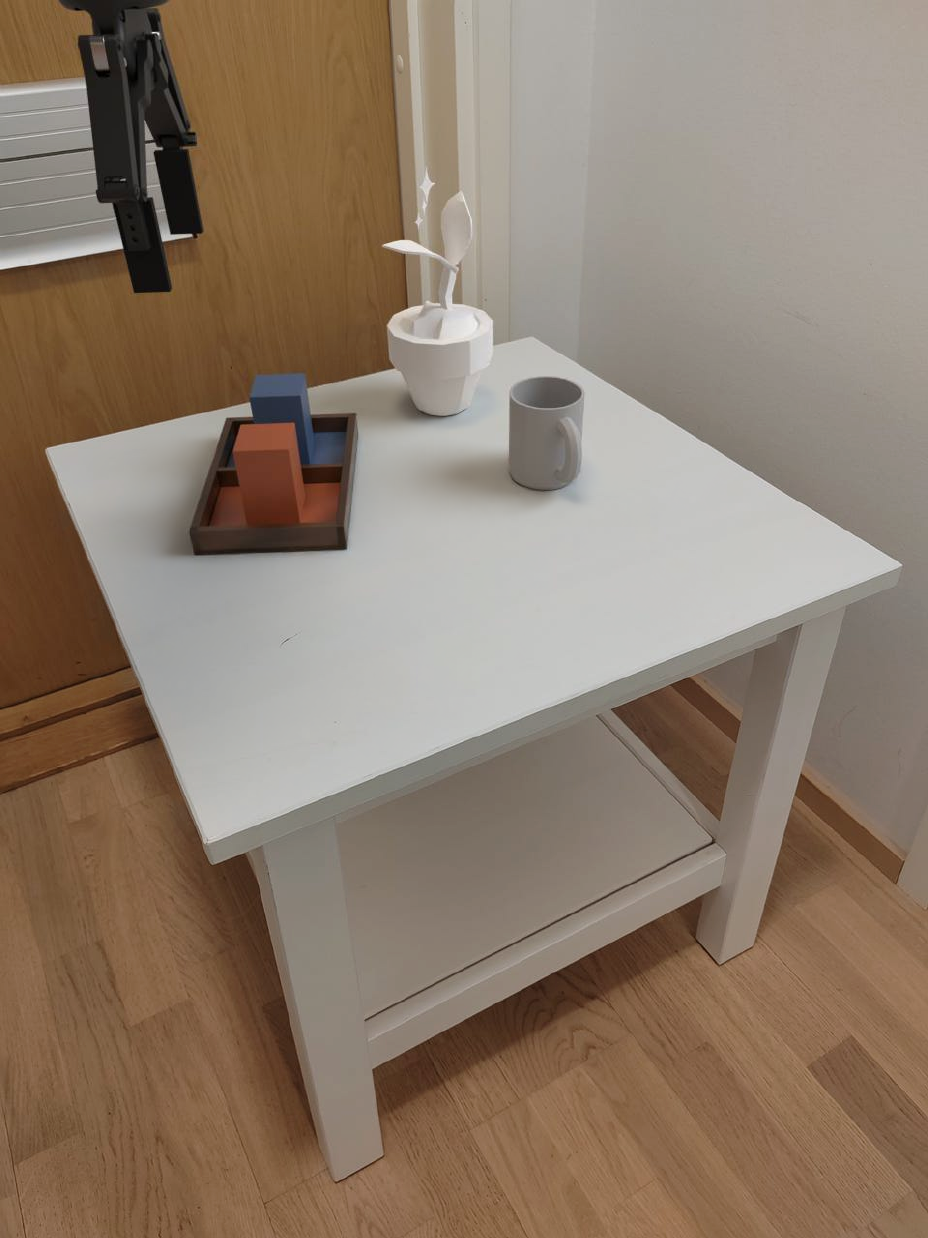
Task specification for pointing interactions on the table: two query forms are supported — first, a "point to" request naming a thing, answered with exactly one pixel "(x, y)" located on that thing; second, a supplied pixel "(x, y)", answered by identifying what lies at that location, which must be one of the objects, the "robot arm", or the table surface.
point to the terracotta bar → (269, 473)
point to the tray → (324, 503)
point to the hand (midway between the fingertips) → (171, 260)
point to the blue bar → (285, 407)
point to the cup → (545, 432)
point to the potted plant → (441, 325)
